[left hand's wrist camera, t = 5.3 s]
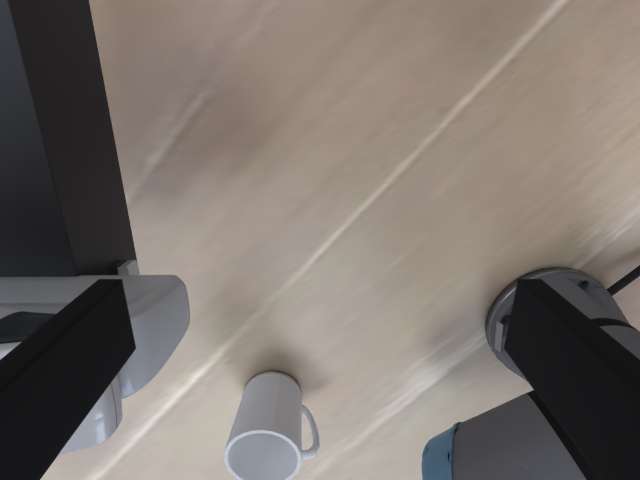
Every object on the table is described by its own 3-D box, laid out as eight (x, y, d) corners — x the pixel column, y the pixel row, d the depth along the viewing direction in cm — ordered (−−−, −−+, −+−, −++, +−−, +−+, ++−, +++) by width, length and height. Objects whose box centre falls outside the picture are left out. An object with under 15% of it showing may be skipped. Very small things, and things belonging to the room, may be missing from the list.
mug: (242, 417, 54) (225, 485, 45) (240, 366, 51) (221, 428, 42) (318, 419, 55) (318, 488, 45) (321, 369, 51) (321, 431, 42)
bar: (-3, -44, 26) (-136, -104, 18) (81, -44, 26) (-18, -104, 18) (79, 286, 34) (12, 338, 27) (142, 286, 34) (92, 337, 27)
